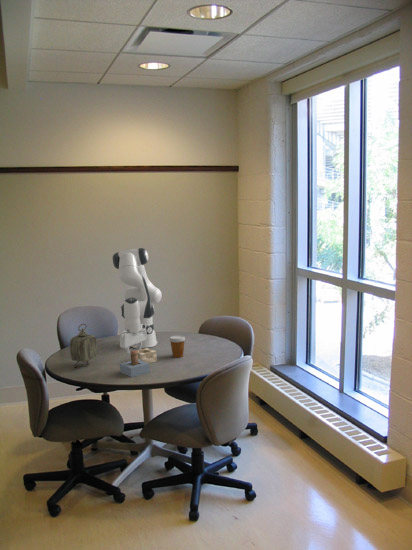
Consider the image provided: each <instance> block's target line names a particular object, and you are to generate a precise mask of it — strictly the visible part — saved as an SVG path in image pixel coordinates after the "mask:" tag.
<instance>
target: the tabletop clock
mask: <svg viewBox="0 0 412 550" xmlns="http://www.w3.org/2000/svg"><path fill="white" fill-rule="evenodd" d="M81 326H85V327H84V328H81ZM80 328H81V329H80ZM86 329H87V324H86V323H81V324H80V325H79V326H78V329H77V330H78V331H79V333H78V334H77V335H76V336H73V337H71V338H70V340H69V354H70V359H71V360H72V361H74V362H76V364H74V365H73V367H74V368H75V367H76V368H77V367H78V364H79V363H80V362H82V363H85V362H86V366H87V365H89V366H90V363H89V362H90V361H91V360H92V359H94V358H96V357H97V356H98V342H97V338H96V337H95V335H93V334H88V333H87V332H86Z"/></svg>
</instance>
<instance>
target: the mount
mask: <svg viewBox="0 0 412 550" xmlns="http://www.w3.org/2000/svg"><path fill="white" fill-rule="evenodd" d="M136 351H138V360H141V361H144V362H146V363H149V364H151V363H155V362H157V361H158V360H157V359H158V358H157V357H158V355H157V351H156V350H155V349H151V348H149V347H147V348H141V350H136Z"/></svg>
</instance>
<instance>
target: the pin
mask: <svg viewBox="0 0 412 550" xmlns="http://www.w3.org/2000/svg"><path fill="white" fill-rule="evenodd" d="M130 351H131V354H130V361H131V365H132V366H134V365H138V351H137V350H130Z"/></svg>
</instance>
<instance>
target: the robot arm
mask: <svg viewBox="0 0 412 550" xmlns="http://www.w3.org/2000/svg"><path fill="white" fill-rule="evenodd" d="M111 261H112V264H113V266H114V268H115V269H117V270H118V275H119V279H120V281H121V282H122V283H124V284H125V285H127V286H130V287H127V288H126V289H125V291H124V296H123V297H124V301H123V302H124V303H123V304H122V305H121V306H120V308H121V317H122V318H123V319H124V322H123V323H124V330H123V331H121V333H120V337H119V347H120V348H121V349H125V351H126V355H131V351H132V350H130V347H131V348H134V349H137V350H141V349H145V348H152V347H155V346H157V344H158V340H157V337H156V331H155V330H154V328H155V325H154V323H153V322H154V319H153V315H155V306H154V305H155V304H159V303H160V302H161V300H162V295H163V294H162V291H161V289H160V288H158V287H156V286H155V285H154V284H153V283H152V282H151V280H150V279H149V278H148V275H147V272H146V268H145V265H146V264H148V262H149V253H148V251H147V249H145V247H139V248H131V249H127V250H123V251H117V252H115V253H114V254H113V255H112V260H111ZM137 350H136V351H137Z"/></svg>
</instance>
